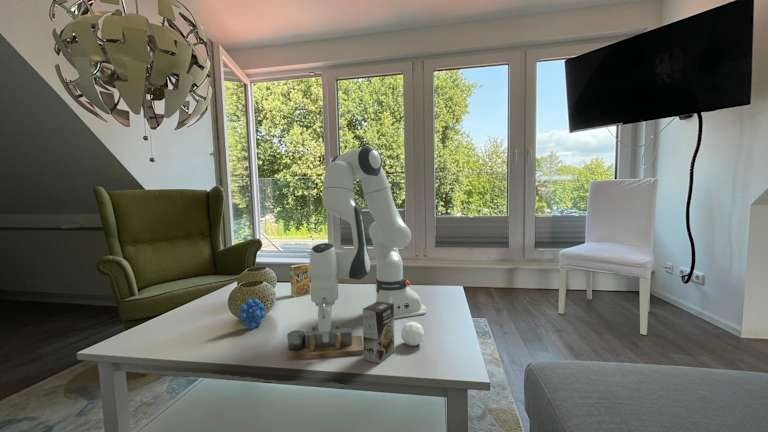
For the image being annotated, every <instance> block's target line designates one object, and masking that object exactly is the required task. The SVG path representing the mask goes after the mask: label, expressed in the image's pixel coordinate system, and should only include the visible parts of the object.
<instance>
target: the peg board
mask: <svg viewBox="0 0 768 432" xmlns="http://www.w3.org/2000/svg"><path fill="white" fill-rule="evenodd" d="M334 327H335V329H341V324H336V325H335V326H334ZM314 330H317V326H316V325H313V326H311V331H314ZM335 344H336V347H323V348H315V335H310V349H306V347H305V348H304V349H302V350H299V351H290V350H288V349H287V352H286V356H285V357H286V361H294V360H295V361H297V360H308V359H322V358H324V359H325V358H331V357H332V358H334V357H346V356H357V355H358V356H360V355H363V335H352V345H350V346H341V344H340V333H336V334H335Z"/></svg>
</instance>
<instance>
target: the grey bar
mask: <svg viewBox="0 0 768 432" xmlns="http://www.w3.org/2000/svg"><path fill="white" fill-rule="evenodd" d="M336 333H340V344H341V346H350V345H352V336H353V335H352V334H353V333H352V327H345V328H340V329H336V328H331V331H330V332H329V341H328V342H323V336H322V333H319V330H318V329H316V330H314V331H312V330H306V331H304V330H292V331H289V333H287V351H288V350H290V351H299V350H302V349H304V348H305V347H306V349H310V335H315V348H323V347H336V344H335V334H336Z"/></svg>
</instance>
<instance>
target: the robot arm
mask: <svg viewBox="0 0 768 432" xmlns="http://www.w3.org/2000/svg"><path fill="white" fill-rule="evenodd" d="M324 173H325V174H324V178H323V184H322V191H321V192H322V194H321V201H322V205H323V207H324V209H325V210H326V211H327V212H328V213H329V214H331V215H333V216H335V217H338V218H340V219H342V220H345V221H346V222H348V223H349V225H350V227H351V234H352V236H351V237H352V242H353V244H352V245H353V249H351V250H349V249H348V250H346V249H345V250H343V249H342V250H341V249H340V250H339V249H336V248H335V245H334V244H332V243H328V242H326V243H325V242H323V243H318V244H316V245H313V246H312V247H311V249H310V255H309V267H310V290H311V294H310V300H311V302H312V303H314V306H316V307H317V324H318V325H317V327H318V329H317V330H319V333H322V336H323V342H328V341H329V332H330V331H331V329H332V315H333V314H332V312H333V305H335V302H336V301H337V300H338V299H339V282H338V280H337V279H350V280H356V281H361V280H363V279H364V278H366V276H368V275H369V274H370V270H371V261H370V256H369V251H368V246H367V245H368V244H367V236H366V227H365V222H364V221H365V220H364V216H363V212H362V211H363V210H362V209H361V206H360V205H358V204H357V203H356V201H355V199H354V198H355V197H354V180H360V183H361V188H362V193H363V196H364V199H365V202H366V207H367V210H368V212H369V213H370V215H371V217H372V218H373V220H374V221H373V222H372V223H371V224H370V226H369V228H368V235H369V237H370V240H371V243H372V247H373V252H374V256H375V261H376V278H375V291H376V298H375V302H377V301H379V302H386V303H392V304H394V320H395V319H401V318H409V317H414V316H415V317H416V316H421V315H422V314H423V315H426V314H427V307H426V305H425V304H423V303H422V301H421V297H420V296H419V294H418V293H417V292H416V291H415V290H413V289H412V288H410V285H411V282H410V281H409V280H408V279H407V278H406V277H404V276H403V275H404V270H403V269H404V268H403V266H404V265H403V259H402V257H401V255H400V252H399V249H403V248H406V247H407V246H408V245H409V243H410V242H411V239H412V232H411V229H410V228H409V227H408V226H407V224H406V223H405V222H404V220H403V217H402V216H401V215H400V212H399V210H398V209H397V206H396V203H395V201H394V198H393V197H394V196H393V194H392V193H393V192H392V190H391V187H390V183H389V180H388V178H387V174H386V172H385V170H384V169H383V166H382V156H381V153H379V151H378V150H377V149H376V148H375V147H371V146H364V147H362V148H355V149H351V150H349V151H346V152H344V153H342V154H337V155H336V156H334V158H333V159H332V160H331V162H330V163H328V164H327V167H326V170H325V172H324ZM425 313H426V314H425Z"/></svg>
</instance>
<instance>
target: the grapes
mask: <svg viewBox="0 0 768 432" xmlns="http://www.w3.org/2000/svg"><path fill="white" fill-rule="evenodd" d="M239 310H240V312H239V313H238V319H239V320H241V325H242V327H244V328H246V327H248V328H249V329H250V330H252V329H256V327H257V326H261V325H262V324H263V320H262V319H265V317H266V312H265V305H264V303H261V302H260V300H259V298H254V299H253V300H252V299H251V298H247V299H245V301H244V303H243V304H241V305H240V306H239Z"/></svg>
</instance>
